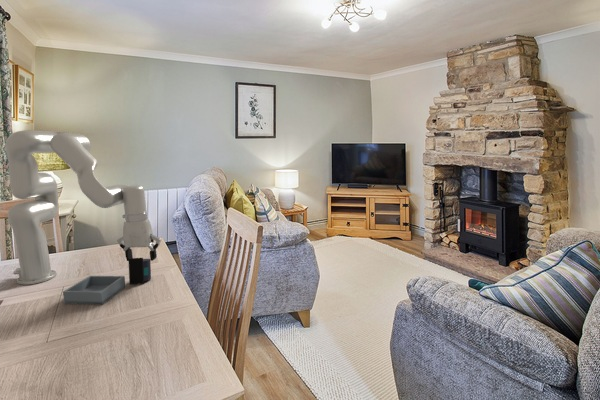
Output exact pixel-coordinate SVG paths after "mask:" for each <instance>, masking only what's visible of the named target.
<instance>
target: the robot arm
mask: <svg viewBox="0 0 600 400" xmlns="http://www.w3.org/2000/svg"><path fill="white" fill-rule="evenodd" d="M91 148H92V145H91V141H90V140H89V138H88V137H87V136H86V135H84V134H82V133H78V132H76V133H74V132H65V131H64V132H62V131H55V130H37V129H36V130H32V129H31V130H19V131H16V132H13V133H11V134H10V135H9V136H8V137H7V138H6V141H5V145H4V149H5V155H6V157H7V162H8V170H9V171H8V172H9V174H8V175H9V185H10V191H11V194H12V195H13V197H15V199H18V200H28V199H34V200H28V201H24V202H19V203H16V204H14V205H13V206H11V207H10V208H9V210H8V211H7V219H8V222H9V224H10V226H11V229H12V232H13V235H14V240H15V246H16V250H17V257H18V263H19V267H16V269H15V270H14V271H13V275H18V278H17V279H16V282H17V284H18V285H34V284H39V283H43V282H46V281H49V280H52V279H53V278H55V277H56V276H57V271H56V270H54V269H52V267H51V261H50V253H49V248H48V241H47V235H46V232H45V230H44V228H43V227H41V225H40V224H41V223H45V222H48V221H51V220H53V219H55V218H56V217H57V216H58V214H59V191H58V183H57V181H56V179H55V178H54V177H53V176H52V174H49V173H47V172H39V165H38V162H37V159H36V158H35V156H33V154H47V153H49V154H50V153H54V154H56V155H57V156H58V157H59V158H60V159H61V160H62V161H63V162H64V163H65V164H66V166H68V167H69V168H70V169H71V170H72V171H73V172H74V173H75V174H76V176H77V182H78V185H79V189H80V190H81V191H82V193H83V194H84V195H85V197H86V198H88V200H89V201H90V202H91V203H93V205H95V206H97V207H98V208H102V209H109V208H112V207H115V206H119V205H122V204H123V208H124V214H123V215H122V218H123V219H125V220H124V222H123V225H122V226H123V227H122V237H120V238H118V239H117V241H116V242H117V244H118V245H119V247H120V248H121V249H122V250H123V252H124V255H125V260H126V261H127V262H129V261H128V259H129V258H134V257H133V250H132V248H147V247H148V249H149V250H150V251H149V257H150V258H149V259H150V262H151V261H152V262H153V261H154V260H156V259H157V249H158V247H159V246H160V245H161V242H162V237H161V238H160V237H158V236H156V235H155V234H154V232H153V227H152V224H151V221H150V220H149V219H148V213H147V211H148V210H147V203H146V194H145V193H146V192H145V189H144V187H143V185H140V184H139V185H138V184H134V185H133V184H132V185H125V184H115V185H109V186H104V185H103V183H101V182H100V181H99V179H97V177H96V176H95V171H94V170H95V169H97V167H98V165H99V163H98V162H99V161H98V160H97V158H95V157H94V156H93V155H92V154H91V153H90V151H91Z"/></svg>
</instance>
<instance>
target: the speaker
mask: <svg viewBox="0 0 600 400" xmlns="http://www.w3.org/2000/svg"><path fill="white" fill-rule="evenodd" d="M127 262H128V276H129V277H128V279H129V283H128V284H129V286H131V285H132V286H133V285H134V286H135V285H144V284H145V282H148V281H150V280H151V279H152V269H151V268H152V267H151V266H152V265H151V259H150V258H144V257H133V258H129V259H128V261H127Z"/></svg>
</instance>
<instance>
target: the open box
mask: <svg viewBox="0 0 600 400" xmlns="http://www.w3.org/2000/svg"><path fill="white" fill-rule="evenodd" d="M126 287H127V286H126V277H125V276H124V275H89V276H87V277H85V278H83V279H82V280H80V281H78V282H77V283H74V284H73V285H72V286H70V287H69V288H66V289H65V290H63V291H62V294H63V301H64V305H95V306H98V305H99V306H100V305H101V306H102V305H104V304H106V303H107V302H109V301H110V300H111V299H113V297H115V296H117V295H118V294H119V293H120V292H122V290H124V289H125V288H126Z"/></svg>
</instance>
